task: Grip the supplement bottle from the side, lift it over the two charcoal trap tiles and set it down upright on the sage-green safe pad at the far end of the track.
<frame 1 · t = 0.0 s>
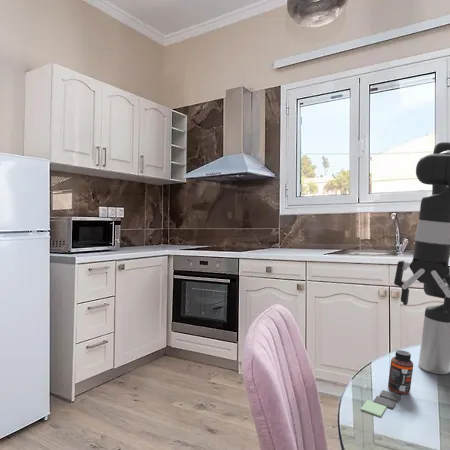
hand: (424, 308, 98), 29 cm above the table, tool pointing down, fingers open, 8 cm apart
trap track: (386, 400, 113), on the table
supplement bottle: (398, 391, 119), on the table
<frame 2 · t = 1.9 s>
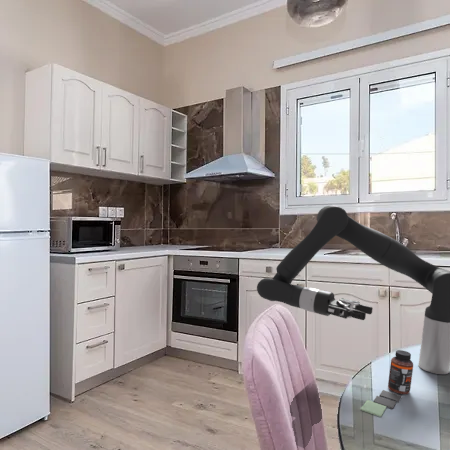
hand: (368, 313, 123), 20 cm above the table, tool horizontal, fingers open, 8 cm apart
nothing on the table moved.
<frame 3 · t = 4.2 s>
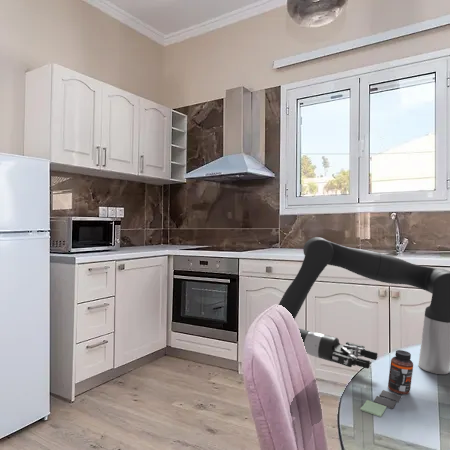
hand: (373, 360, 123), 6 cm above the table, tool horizontal, fingers open, 8 cm apart
nothing on the table moved.
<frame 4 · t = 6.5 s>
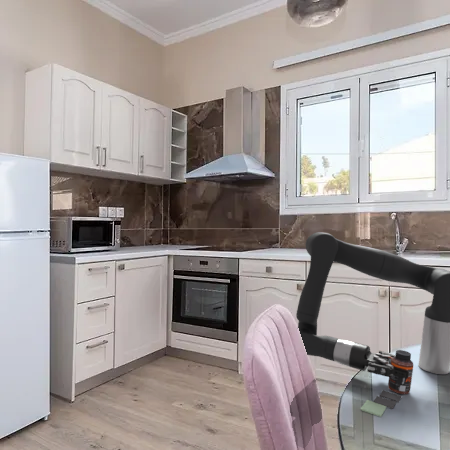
hand: (410, 371, 117), 7 cm above the table, tool horizontal, fingers closed on supplement bottle, 6 cm apart
supplement bottle: (398, 391, 119), on the table, touching gripper
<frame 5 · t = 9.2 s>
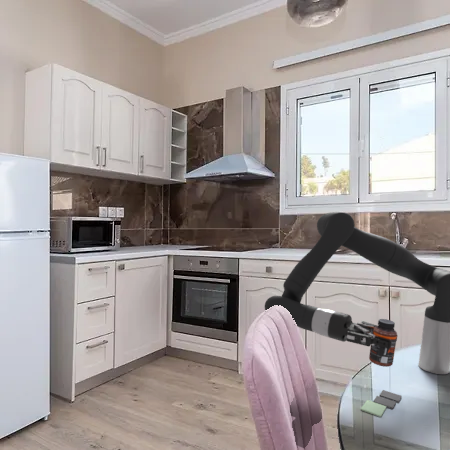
hand: (393, 341, 107), 18 cm above the table, tool horizontal, fingers closed on supplement bottle, 6 cm apart
supplement bottle: (380, 363, 109), point 11 cm above the table, touching gripper
when the fingers open (8 cm above the table, at t = 11.9 s): supplement bottle stays where it is, resting on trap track.
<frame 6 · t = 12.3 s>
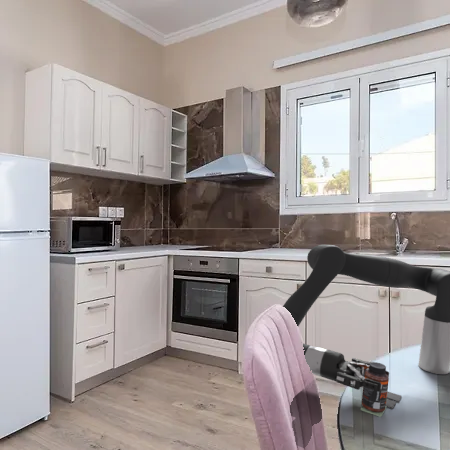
hand: (384, 381, 105), 8 cm above the table, tool horizontal, fingers open, 8 cm apart
supplement bottle: (373, 408, 107), resting on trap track
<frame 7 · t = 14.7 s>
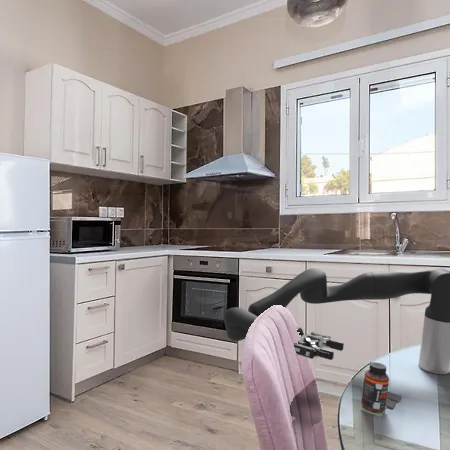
hand: (338, 351, 112), 12 cm above the table, tool horizontal, fingers open, 8 cm apart
nothing on the table moved.
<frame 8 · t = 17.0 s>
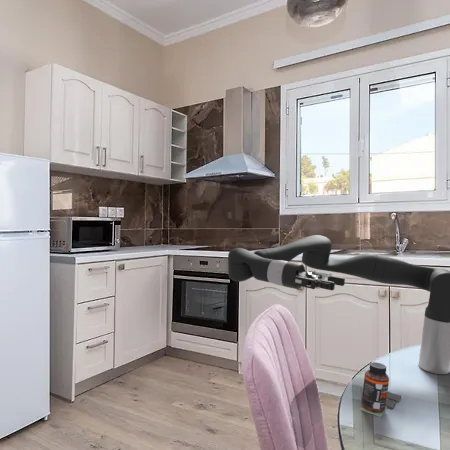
hand: (339, 284, 114), 30 cm above the table, tool horizontal, fingers open, 8 cm apart
nothing on the table moved.
at the end: supplement bottle 0.1 cm from the target spot, resting on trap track; supplement bottle tilted 0°; the gripper is holding nothing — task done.
